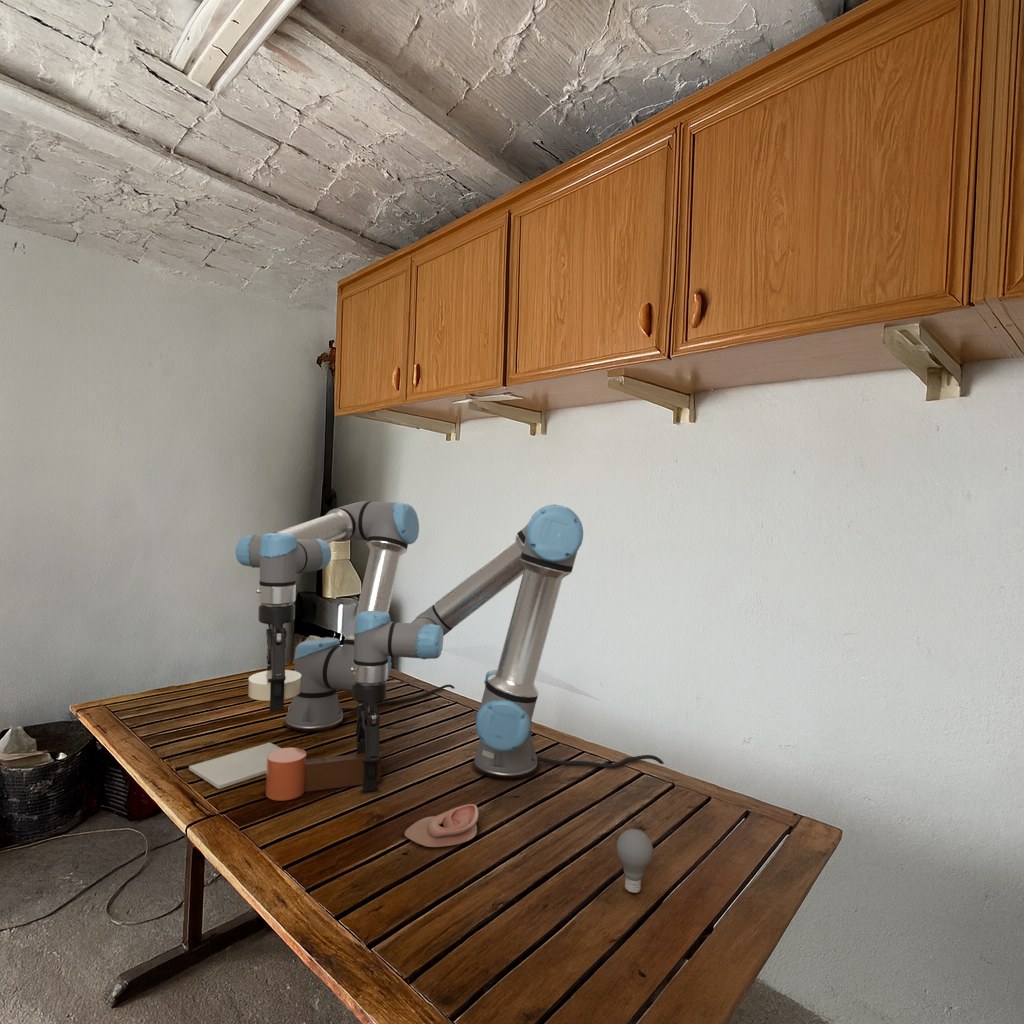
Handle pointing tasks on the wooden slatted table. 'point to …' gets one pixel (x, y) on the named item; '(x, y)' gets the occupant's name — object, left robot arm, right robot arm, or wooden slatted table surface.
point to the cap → (261, 687)
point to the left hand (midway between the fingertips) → (274, 702)
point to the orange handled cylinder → (311, 773)
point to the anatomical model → (445, 827)
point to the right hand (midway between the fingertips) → (365, 780)
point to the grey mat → (235, 766)
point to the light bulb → (634, 857)
